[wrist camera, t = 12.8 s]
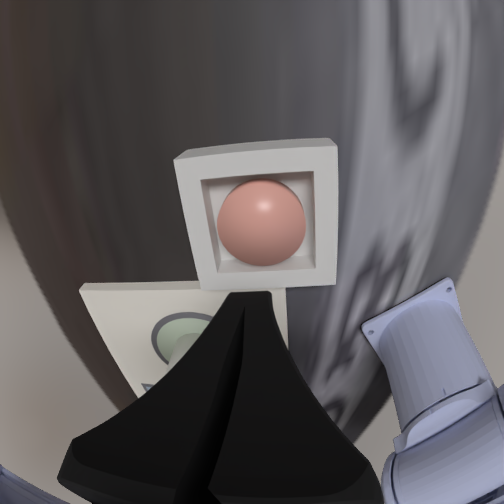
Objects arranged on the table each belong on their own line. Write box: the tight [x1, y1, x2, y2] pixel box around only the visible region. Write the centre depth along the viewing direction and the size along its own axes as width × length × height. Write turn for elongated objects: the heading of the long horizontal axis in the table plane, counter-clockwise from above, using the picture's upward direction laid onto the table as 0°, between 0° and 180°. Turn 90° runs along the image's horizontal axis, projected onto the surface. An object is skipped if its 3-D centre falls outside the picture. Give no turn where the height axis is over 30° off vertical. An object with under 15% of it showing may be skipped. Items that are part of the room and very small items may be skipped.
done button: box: [217, 178, 306, 266], centre depth 16 cm, size 5×5×1 cm
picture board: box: [79, 281, 288, 398], centre depth 26 cm, size 20×16×1 cm
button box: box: [174, 138, 338, 291], centre depth 17 cm, size 8×8×2 cm
